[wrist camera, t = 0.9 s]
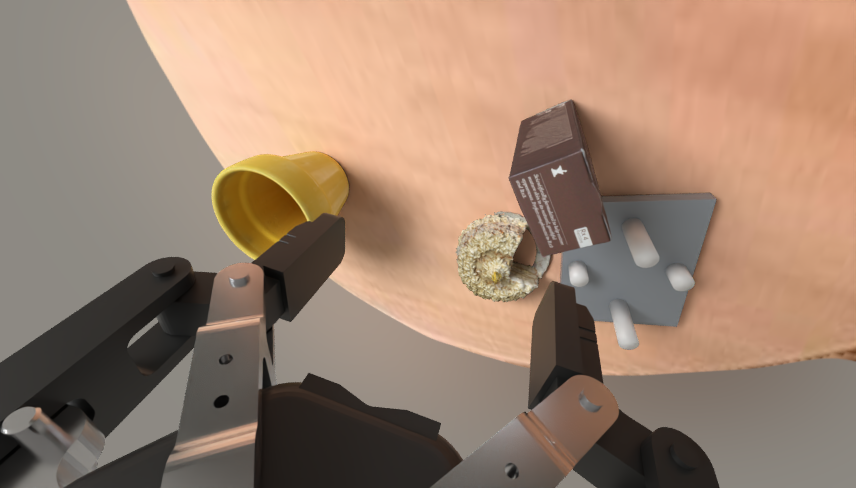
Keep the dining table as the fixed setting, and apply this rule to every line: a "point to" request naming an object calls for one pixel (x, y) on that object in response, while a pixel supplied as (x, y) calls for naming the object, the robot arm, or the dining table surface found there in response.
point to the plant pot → (276, 197)
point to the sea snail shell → (497, 258)
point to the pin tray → (619, 263)
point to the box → (558, 182)
